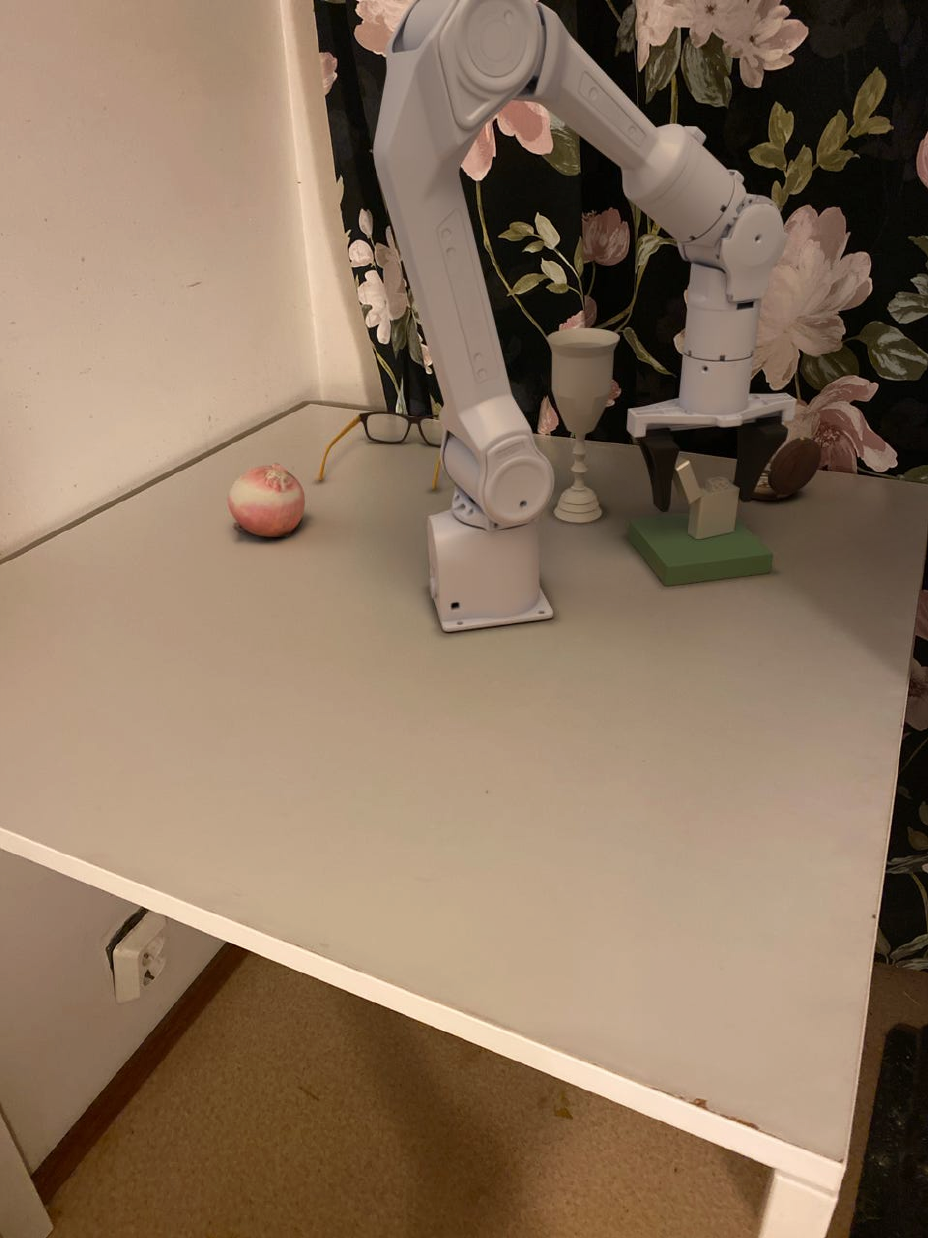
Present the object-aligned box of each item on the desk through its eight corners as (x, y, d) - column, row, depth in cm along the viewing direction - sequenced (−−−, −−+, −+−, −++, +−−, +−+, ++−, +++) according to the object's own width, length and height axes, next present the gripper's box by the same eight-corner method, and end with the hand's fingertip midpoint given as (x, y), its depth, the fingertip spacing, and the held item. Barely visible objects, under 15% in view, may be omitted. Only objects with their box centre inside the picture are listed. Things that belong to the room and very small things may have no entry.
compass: (765, 474, 97) (774, 411, 93) (816, 500, 91) (829, 433, 87) (707, 489, 94) (714, 424, 91) (756, 516, 88) (766, 448, 84)
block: (665, 586, 77) (667, 566, 76) (627, 537, 85) (628, 519, 84) (770, 572, 78) (773, 553, 77) (723, 526, 87) (725, 507, 86)
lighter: (723, 524, 82) (734, 443, 78) (734, 531, 81) (746, 450, 77) (659, 538, 80) (666, 456, 76) (669, 545, 79) (677, 463, 75)
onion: (282, 553, 86) (270, 486, 82) (217, 542, 88) (203, 477, 85) (322, 519, 92) (312, 455, 88) (260, 511, 95) (248, 448, 91)
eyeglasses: (470, 446, 109) (469, 415, 107) (434, 491, 97) (432, 458, 95) (365, 439, 112) (362, 409, 110) (318, 482, 101) (313, 449, 99)
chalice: (614, 526, 88) (624, 346, 78) (547, 528, 88) (549, 349, 78) (606, 496, 94) (614, 326, 84) (543, 498, 94) (544, 329, 85)
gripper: (652, 373, 68) (640, 530, 75) (825, 356, 69) (797, 511, 77) (622, 350, 73) (614, 497, 81) (782, 335, 75) (760, 481, 82)
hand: (701, 502), depth 79 cm, fingers closed on lighter, 7 cm apart
